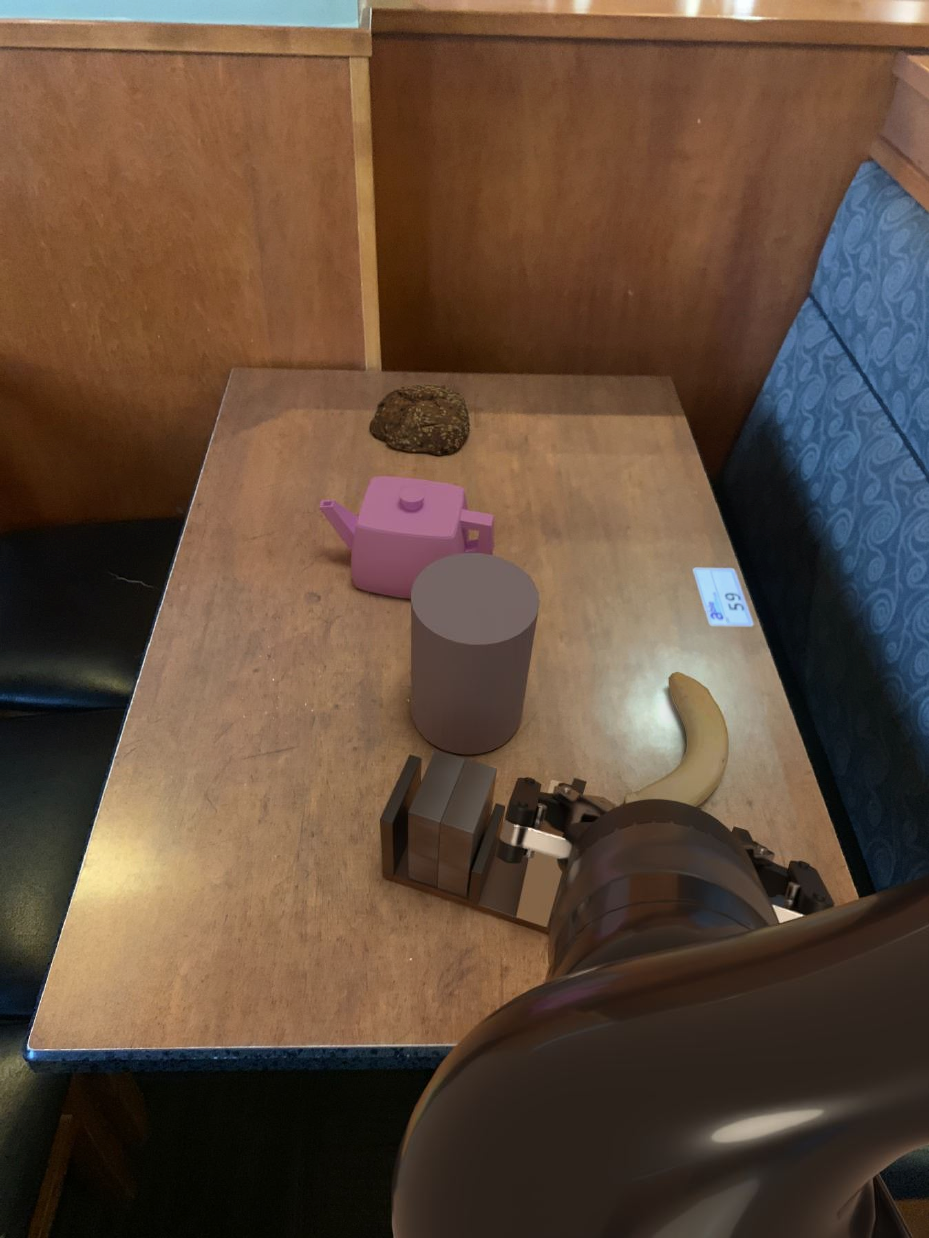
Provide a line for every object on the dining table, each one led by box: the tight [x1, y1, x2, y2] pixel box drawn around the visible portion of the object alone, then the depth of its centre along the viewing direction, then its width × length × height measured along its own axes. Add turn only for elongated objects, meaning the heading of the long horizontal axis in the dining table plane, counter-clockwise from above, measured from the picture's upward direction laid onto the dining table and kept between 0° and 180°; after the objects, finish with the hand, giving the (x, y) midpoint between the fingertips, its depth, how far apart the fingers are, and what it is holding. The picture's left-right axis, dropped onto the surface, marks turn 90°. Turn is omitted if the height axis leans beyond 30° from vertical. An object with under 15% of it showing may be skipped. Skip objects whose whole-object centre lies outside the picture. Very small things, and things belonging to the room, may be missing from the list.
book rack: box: [379, 749, 564, 936], centre depth 62 cm, size 24×6×12 cm, turn 71°
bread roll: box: [368, 383, 471, 456], centre depth 107 cm, size 13×12×5 cm
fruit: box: [624, 671, 730, 808], centre depth 75 cm, size 7×15×3 cm, turn 156°
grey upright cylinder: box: [410, 553, 541, 755], centre depth 73 cm, size 10×10×15 cm
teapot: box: [318, 475, 495, 600], centre depth 88 cm, size 18×10×10 cm, turn 82°
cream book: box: [516, 779, 564, 927], centre depth 62 cm, size 2×6×11 cm, turn 162°
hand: (653, 821), depth 45 cm, fingers open, 8 cm apart
